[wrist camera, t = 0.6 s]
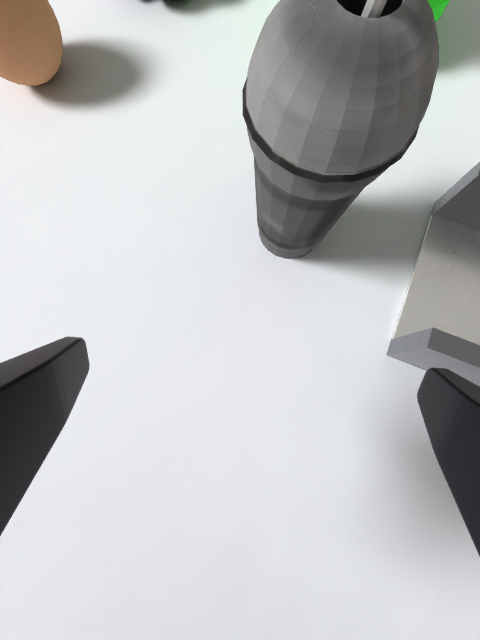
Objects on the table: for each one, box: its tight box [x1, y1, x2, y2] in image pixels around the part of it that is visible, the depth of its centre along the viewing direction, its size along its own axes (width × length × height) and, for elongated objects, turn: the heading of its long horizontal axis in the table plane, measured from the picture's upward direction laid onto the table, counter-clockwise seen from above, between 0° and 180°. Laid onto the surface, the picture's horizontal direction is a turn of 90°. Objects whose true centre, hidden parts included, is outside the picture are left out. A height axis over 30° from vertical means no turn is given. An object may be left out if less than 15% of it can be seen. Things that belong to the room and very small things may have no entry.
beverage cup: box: [243, 0, 439, 258], centre depth 15 cm, size 7×7×20 cm
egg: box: [0, 0, 63, 85], centre depth 23 cm, size 6×6×8 cm
